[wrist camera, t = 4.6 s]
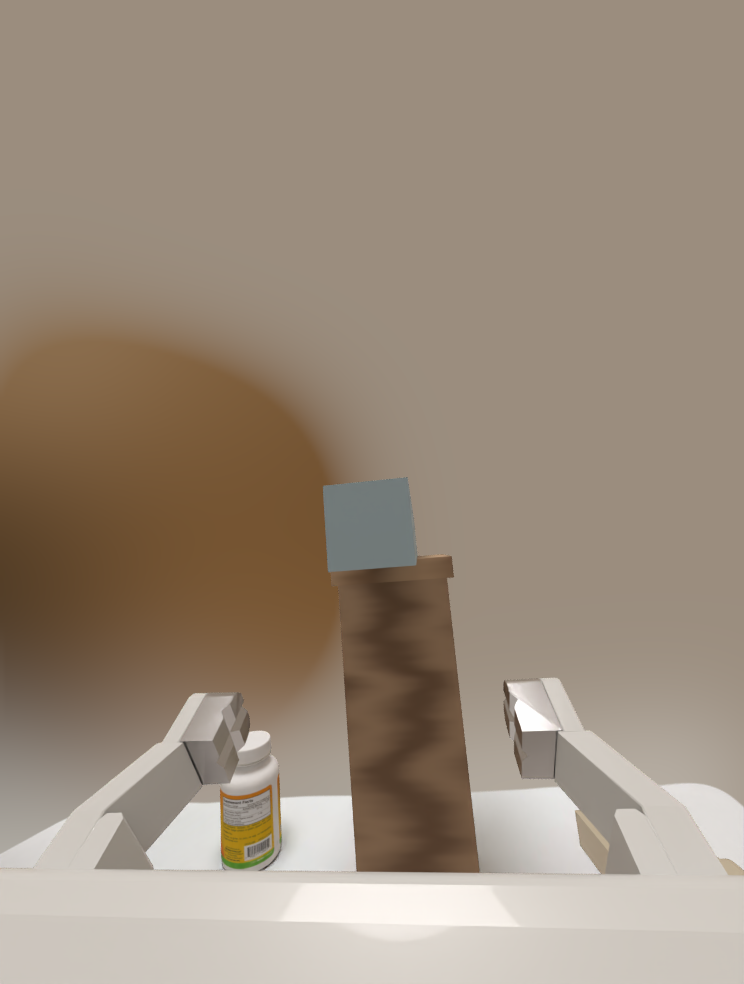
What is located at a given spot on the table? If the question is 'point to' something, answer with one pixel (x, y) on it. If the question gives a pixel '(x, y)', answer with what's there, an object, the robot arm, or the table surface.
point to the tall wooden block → (405, 720)
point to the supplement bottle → (251, 808)
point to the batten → (369, 525)
